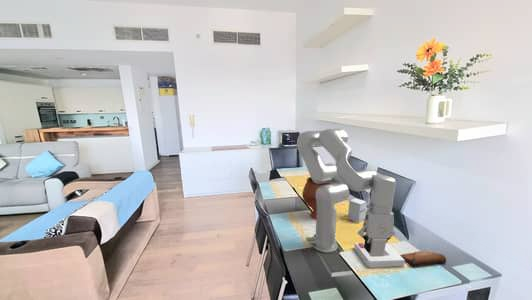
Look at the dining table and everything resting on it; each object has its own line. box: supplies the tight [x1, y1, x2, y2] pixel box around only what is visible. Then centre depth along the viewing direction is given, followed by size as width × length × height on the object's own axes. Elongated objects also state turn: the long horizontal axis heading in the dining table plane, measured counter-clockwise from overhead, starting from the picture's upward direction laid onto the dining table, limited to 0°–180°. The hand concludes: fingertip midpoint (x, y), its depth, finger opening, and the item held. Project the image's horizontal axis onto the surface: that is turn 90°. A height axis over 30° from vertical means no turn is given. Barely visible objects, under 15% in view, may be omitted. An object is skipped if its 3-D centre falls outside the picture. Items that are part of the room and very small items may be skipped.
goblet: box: [302, 176, 330, 220], centre depth 141 cm, size 19×19×25 cm
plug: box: [365, 238, 386, 257], centre depth 88 cm, size 5×5×8 cm
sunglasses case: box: [399, 251, 447, 268], centre depth 102 cm, size 18×7×7 cm
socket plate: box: [353, 241, 406, 269], centre depth 104 cm, size 16×14×4 cm
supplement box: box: [347, 197, 367, 224], centre depth 139 cm, size 7×7×13 cm
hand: (374, 249), depth 88 cm, fingers closed on plug, 5 cm apart
